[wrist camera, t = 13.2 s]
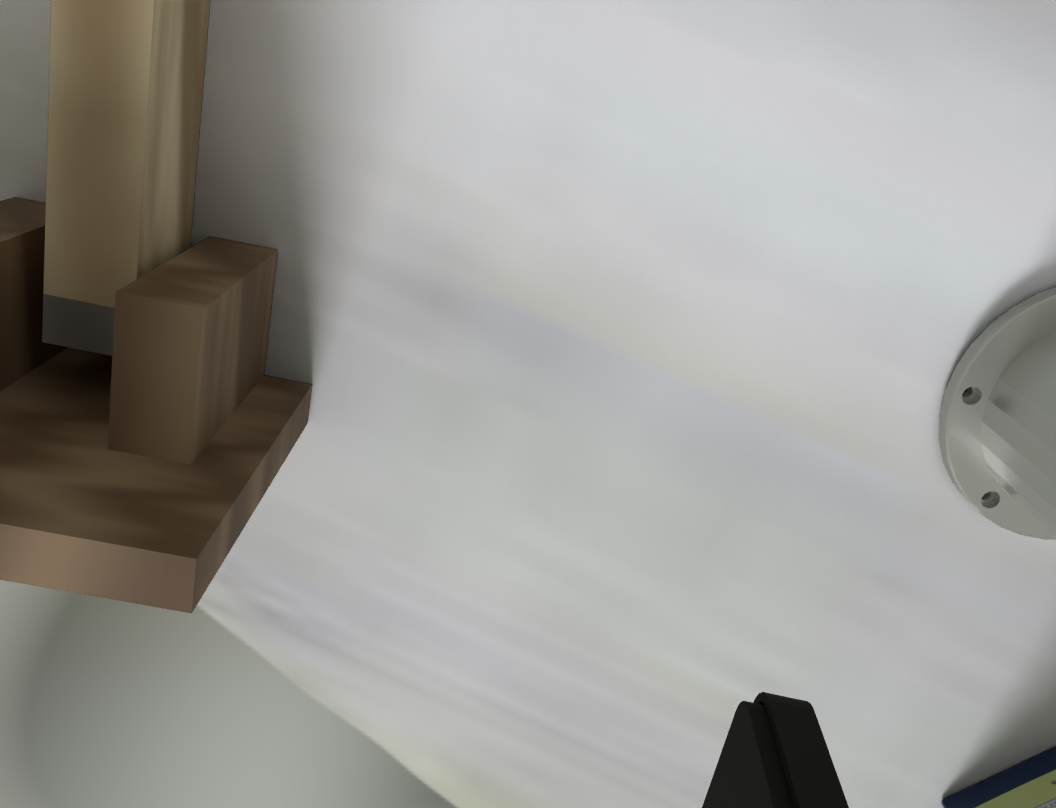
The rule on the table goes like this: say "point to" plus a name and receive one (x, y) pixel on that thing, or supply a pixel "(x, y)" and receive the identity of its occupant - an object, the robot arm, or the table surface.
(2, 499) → the wooden slotted stand
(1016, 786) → the protein box
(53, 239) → the bed rail
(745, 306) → the table surface
